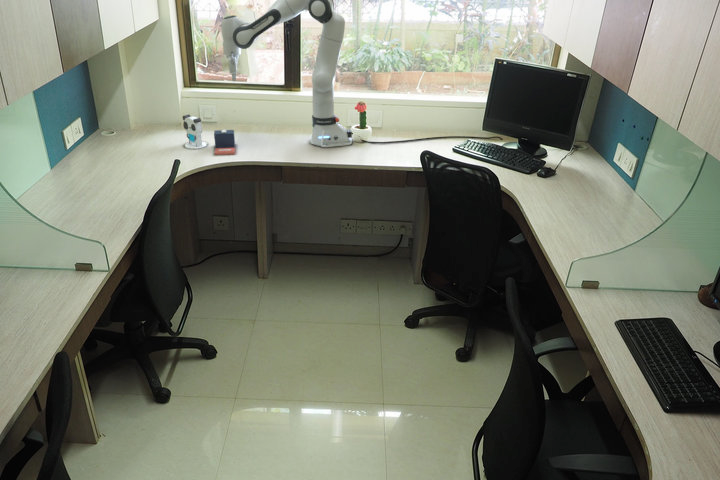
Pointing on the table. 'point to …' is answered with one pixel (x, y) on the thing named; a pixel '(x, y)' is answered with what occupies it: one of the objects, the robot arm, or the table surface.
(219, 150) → the tissue packet
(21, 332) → the table surface
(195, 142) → the panda figurine
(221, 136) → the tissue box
